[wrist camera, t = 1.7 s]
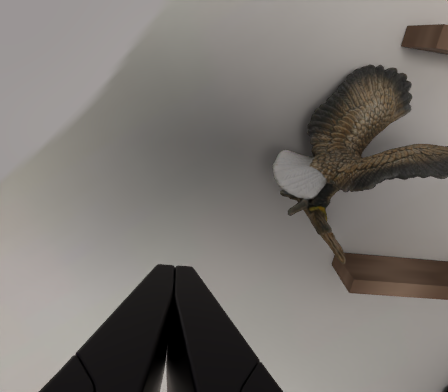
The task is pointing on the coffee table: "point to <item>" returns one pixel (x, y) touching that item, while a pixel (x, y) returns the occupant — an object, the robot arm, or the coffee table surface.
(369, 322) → the coffee table surface
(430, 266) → the walnut bay
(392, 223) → the coffee table surface
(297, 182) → the eagle figurine
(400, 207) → the coffee table surface
